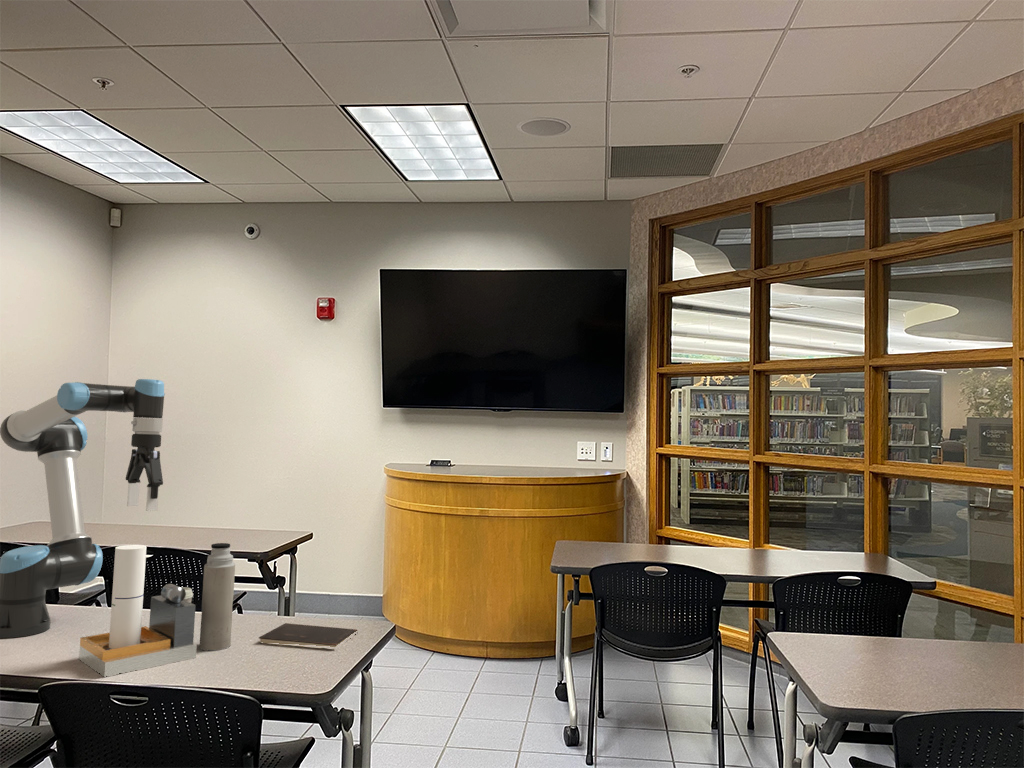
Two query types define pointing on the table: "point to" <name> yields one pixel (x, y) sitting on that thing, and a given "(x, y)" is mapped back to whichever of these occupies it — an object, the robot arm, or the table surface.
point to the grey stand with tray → (148, 638)
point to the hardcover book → (307, 635)
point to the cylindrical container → (127, 596)
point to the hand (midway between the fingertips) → (141, 508)
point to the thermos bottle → (217, 599)
